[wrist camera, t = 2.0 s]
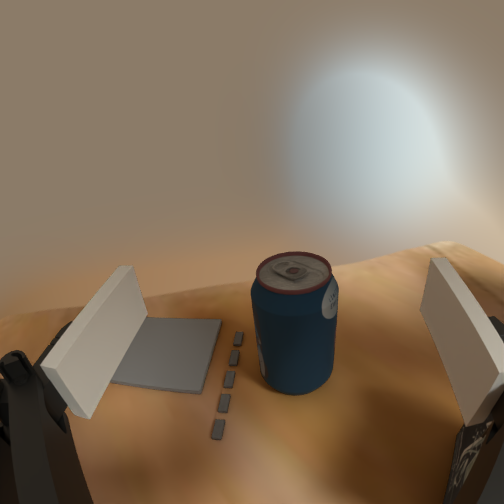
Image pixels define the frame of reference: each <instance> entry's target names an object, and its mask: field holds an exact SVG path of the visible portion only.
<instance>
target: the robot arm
mask: <svg viewBox="0 0 504 504" xmlns="http://www.w3.org/2000/svg"><path fill="white" fill-rule="evenodd" d="M420 311H421V314H422V316H423V318H424V320H425V322H426V325H427V327H428V329H429V331H430V334H431V336H432V338H433V341H434V343H435V345H436V348H437V350H438V352H439V355H440V357H441V360H442V362H443V365H444V367H445V370H446V372H447V375H448V377H449V380H450V383H451V385H452V388H453V391H454V394H455V396H456V399H457V402H458V405H459V408H460V411H461V414H462V417H463V420H464V423H465V426H466V427H467V426H471V425H475V424H479V423H482V422H484V421H485V419H486V418H487V416H488V415H489V414H490V412H491V414H492V416H493V419H494V420H493V421H492V423H491V424H490V425H489V427H488V428H487V429H486V431H485V432H484V433H483V435H482V436H481V437H482V438H484V436H485V435H486V436H485V439H484V441H483V444H482V446H481V448H480V451H479V453H478V455H477V457H476V459H475V462H474V464H473V466H472V468H471V470H470V472H469V474H468V476H467V478H466V480H465V482H464V484H463V486H462V488H461V489H460V491H459V493H458V495H457V497H456V498H455V500H454V502H453V504H504V324H503V323H502V322H501V321H499V320H498V319H497V318H496V317H494V316H492V317H487V315H486V314H485V312H484V311H483V309H482V308H481V306H480V305H479V303H478V302H477V300H476V299H475V297H474V296H473V294H472V293H471V291H470V290H469V289H468V287H467V286H466V284H465V283H464V281H463V280H462V279H461V277H460V276H459V275H458V273H457V272H456V271H455V269H454V268H453V266H452V265H451V264H450V262H449V261H448V260H447V259H446V258H431V260H430V265H429V270H428V275H427V280H426V285H425V290H424V294H423V299H422V303H421V307H420ZM147 314H148V312H147V309H146V306H145V303H144V300H143V297H142V294H141V290H140V287H139V284H138V281H137V277H136V274H135V270H134V267H133V266H132V265H131V266H119V267H118V268H117V269H116V270H115V271H114V272H113V274H112V275H111V276H110V277H109V278H108V279H107V281H106V282H105V283H104V284H103V285H102V287H101V288H100V289H99V290H98V291H97V292H96V294H95V295H94V296H93V297H92V299H91V300H90V301H89V302H88V303H87V305H86V306H85V307H84V308H83V310H82V311H81V312H80V313H79V315H78V316H77V317H76V318H75V320H74V321H71V322H69V323H68V324H67V325H65V326H64V327H63V328H62V329H61V330H60V331H59V332H58V334H57V335H56V336H55V338H54V339H53V340H52V341H51V343H50V345H48V347H47V348H46V349H45V351H44V352H43V353H42V355H41V356H40V357H39V359H38V360H37V361H36V363H35V364H34V365H33V366H32V365H31V363H30V362H29V360H28V358H27V357H26V355H25V354H24V353H23V352H22V351H19V350H15V351H11V352H9V353H8V354H6V355H5V356H4V357H2V358H1V360H0V373H1V374H2V376H3V377H4V379H0V504H94V503H93V501H92V498H91V495H90V493H89V490H88V487H87V484H86V481H85V478H84V475H83V472H82V469H81V465H80V462H79V459H78V455H77V452H76V448H75V445H74V441H73V437H72V433H71V429H70V425H69V421H68V417H67V415H66V413H65V412H64V411H65V409H66V408H67V406H68V407H69V408H70V410H71V411H72V412H73V414H74V415H76V416H79V417H83V418H86V419H90V418H91V416H92V414H93V412H94V411H95V409H96V407H97V405H98V403H99V401H100V399H101V397H102V395H103V393H104V391H105V390H106V388H107V386H108V384H109V382H110V380H111V378H112V377H113V375H114V373H115V371H116V369H117V367H118V366H119V364H120V362H121V360H122V358H123V356H124V355H125V353H126V351H127V349H128V348H129V346H130V344H131V342H132V340H133V339H134V337H135V335H136V333H137V332H138V330H139V328H140V326H141V325H142V323H143V321H144V319H145V318H146V316H147Z"/></svg>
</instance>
